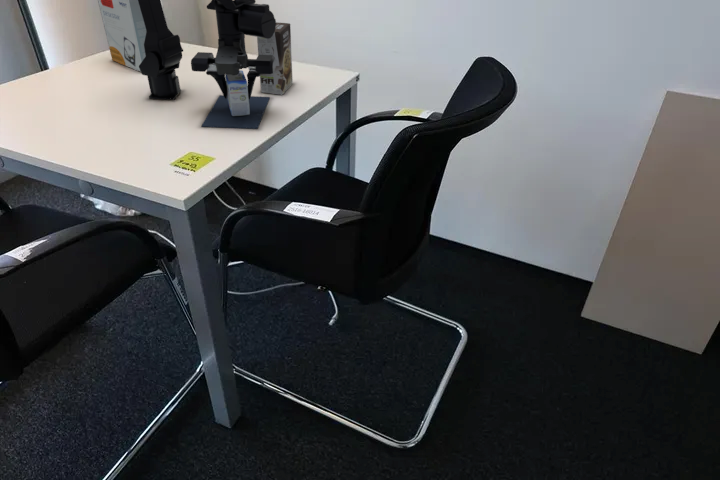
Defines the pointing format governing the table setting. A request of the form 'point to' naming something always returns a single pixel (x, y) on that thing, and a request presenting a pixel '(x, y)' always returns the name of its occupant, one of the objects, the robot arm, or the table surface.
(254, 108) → the mat
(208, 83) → the table surface
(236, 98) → the medicine box
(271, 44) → the coffee box
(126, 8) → the hard drive box
